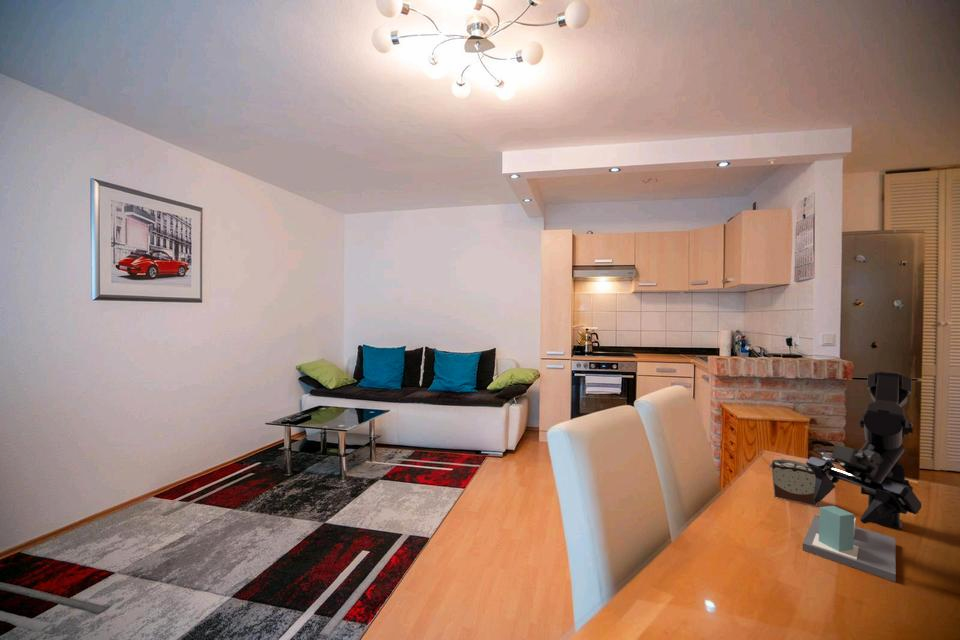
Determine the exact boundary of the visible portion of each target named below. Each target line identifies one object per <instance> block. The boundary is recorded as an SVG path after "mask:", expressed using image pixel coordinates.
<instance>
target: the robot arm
mask: <svg viewBox="0 0 960 640" xmlns="http://www.w3.org/2000/svg"><path fill="white" fill-rule="evenodd" d="M912 379H913V378H910V377H909V376H905V375H903V373H899V372H897V371H886V370H885V371H884V370H883V371H882V370H879V371H875V372H874V373H870V374H869V373H868V374H867V381H866V388H867V391H870V398H871V400H872V401H873V402H870V403H869V404H867V405H866V411H865V412H862V413H861V416H860V420H859V424H860V425H859V427H860V428H862V429H863V431H864V432H863V433H864V438H865V441H866V442H865V443H864V444H863V446H861V448H860V450H859V449H856V448H852V447H849V446H844V445H841V444H839V443H838V444H835V446H834V447H833V450H832V454H831V456H830V458H832V460H837V461H838V462H840V463H839V466H840V467H841V468H842V469H844V471H843V470H840V469H837V468H836V466H835V465H834V464H833V463H832V461H831V460H827V459H824V458H823V457H822V458H821V457H819V456H810V457H809V458H808V459H807V461H806V462H805V463H806V464H807V465H808V467H809V468H810V469H811V470H812V472H813V473H814V474H815V489H814V496H813V501H814V502H815V503H817V504H819V503H820V502H822V500H823V499H824V498H826V497H827V496H828V495H829V494H830V493H831V492H832V491H833V489H835V488H836V485H835V484H837V483H838V482H839V481H842V482H846V483H849V484H852V485H855V486H858V487H860V494H861V495H865V496H866V495H867V497H868V498H867V499H868V500H867V507H866V509H865V511H863V513H862V515H861V518H860V522H861V524H865V525H866V524H869V523H871V522H873V523H876V524H879V525H883V526H886V527H891V528H894V529H897V530H900V531H901V530H903V521H902V519H900V517H901V515H900V514H903V515H906V514H908V513H911V514H913V515H917V514H918V513H919V511H920V510H921V509H922V502H921V500H919V498H918V497H917V495H916V493H914V490H913V489H914V487H913V486H912V485H911V483H910V481H909V479H905V477H906V476H905V473H906V471H905V469H904V467H903V466H902V465H901V464H900V462H899V461H898V460H899V458H901V457H902V455H903V454H904V452H905V447H904V445H903V439H904V437H905V436H909V434H913V431H914V430H913V429H914V427H913V425H914V424H913V423H912V422H911V420H910V419H909V418H905V410H906V409H904V406H905V405H906V404H907V402H908V395H912V389H913V388H912V385H913V384H912V382H913V380H912Z"/></svg>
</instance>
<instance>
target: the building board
mask: <svg viewBox="0 0 960 640" xmlns="http://www.w3.org/2000/svg"><path fill="white" fill-rule="evenodd" d="M813 516H814V517H813V519H812V521H811V523H810V525H809V527H808V530H807V533H806V535H805V537H804V540H803V542H802V551H805V552H806V553H807V552H808V553H810V554H813V555H815V556H818V557H821V558H823V559H824V558H825V559H827V560H831V561H834V562H837V563H840V564H842V565H844V566H848V567H850V568H854V569H856V570H859V571H862V572H865V573H867V574H870V575H873V576H877V577H879V578H882V579H886V580H887V581H891V582H894V583H896V579H897V577H896V574H897V573H896V571H897V570H896V569H897V567H896V566H897V565H896V537H893V536H890V535H886V534H883V533H879V532H875V531H873V530H868V529H867V528H866V529H865V528H861V527H858V526H856V524H857V523H856V521H857V519H856V517H854V537H853V550H847V551H837V550H835V549H833V548H831V547H829V546H827V545H825V544H823V543H821V542H819V515H817V514H814V515H813Z"/></svg>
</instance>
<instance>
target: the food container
mask: <svg viewBox="0 0 960 640" xmlns="http://www.w3.org/2000/svg"><path fill="white" fill-rule="evenodd" d="M768 470H771V473H772V474H771V475H772V484H773V497H774V498H775V497H778V498H777V499H779V498H782V499H781V500H784V499H786V500H785V501H788V500H790V501H789V502H793V501H795V502H794V503H797V502H800V503H799V504H802V503H804V504H803V505H807V504H808V505H807V506H811V505H812V506H811V507H816V508H817V507H818V503H815V502H814V501H813V496H814V489H815V474H814V473H813V472H812V470H811V469H810V468H809V467H808V465H807V464H806V462H802V461H798V460H791V459H786V460H782V459H781V458H780V459H778V458H777V459H772V461H771V462H770V464H769V469H768Z"/></svg>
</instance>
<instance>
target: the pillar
mask: <svg viewBox="0 0 960 640" xmlns="http://www.w3.org/2000/svg"><path fill="white" fill-rule="evenodd" d="M818 514H819V515H818V516H819V542H821V543H823V544H825V545H827V546H829V547H831V548H833V549H835V550H837V551H847V550H853V537H854V518H855V514H854V513H852V512H849V511H847V510H845V509H842V508H840V507H837V506H835V505H828V506H819V513H818Z"/></svg>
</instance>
